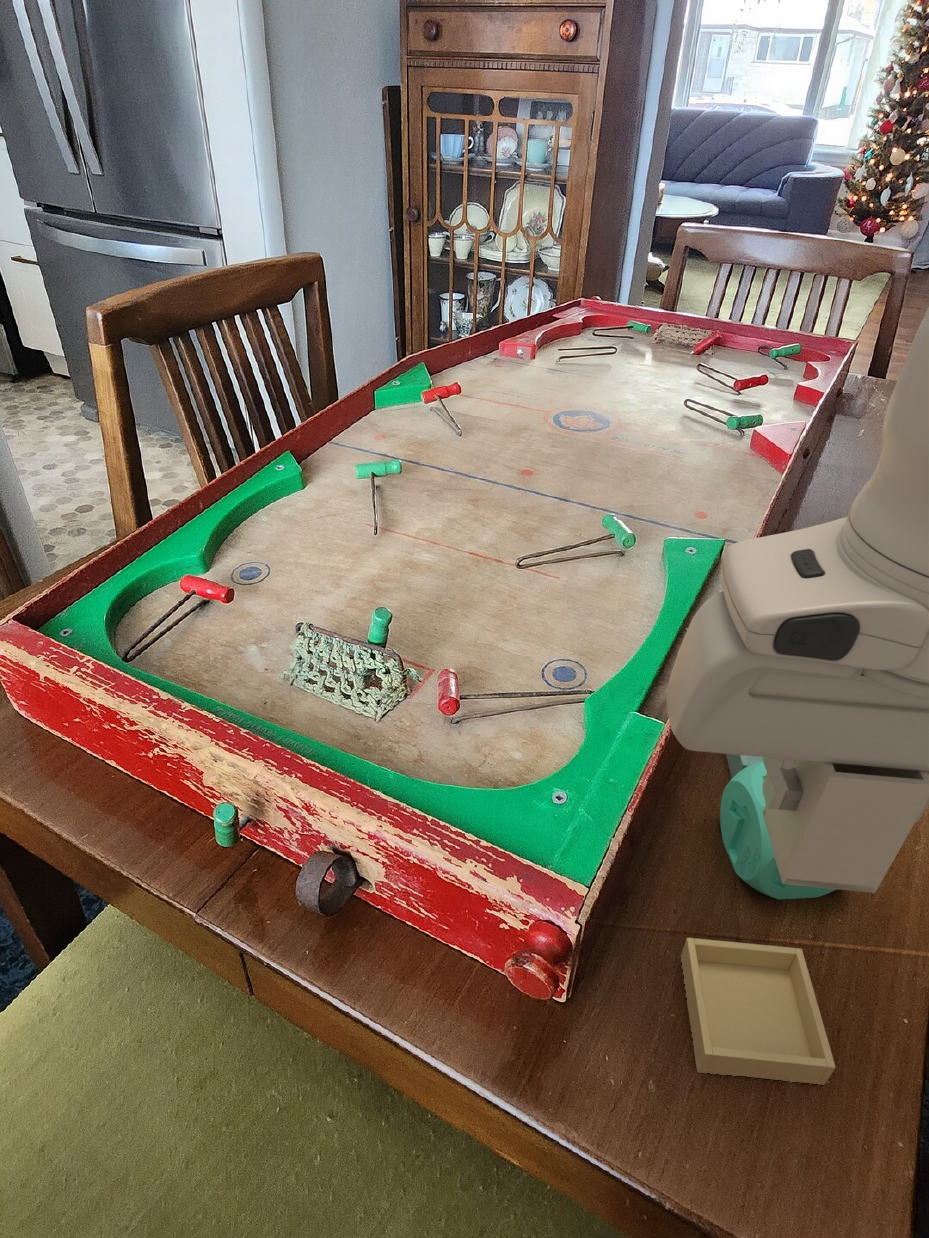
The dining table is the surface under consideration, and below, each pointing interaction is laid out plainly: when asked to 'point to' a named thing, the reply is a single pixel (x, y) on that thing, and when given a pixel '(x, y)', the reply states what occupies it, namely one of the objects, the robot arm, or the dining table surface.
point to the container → (845, 824)
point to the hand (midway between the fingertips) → (836, 806)
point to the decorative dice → (754, 837)
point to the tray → (754, 1012)
